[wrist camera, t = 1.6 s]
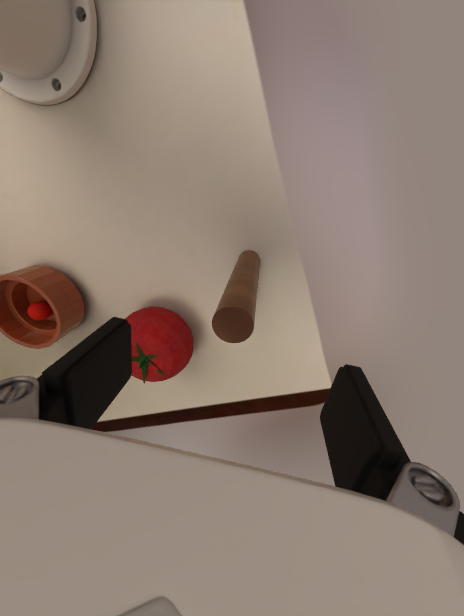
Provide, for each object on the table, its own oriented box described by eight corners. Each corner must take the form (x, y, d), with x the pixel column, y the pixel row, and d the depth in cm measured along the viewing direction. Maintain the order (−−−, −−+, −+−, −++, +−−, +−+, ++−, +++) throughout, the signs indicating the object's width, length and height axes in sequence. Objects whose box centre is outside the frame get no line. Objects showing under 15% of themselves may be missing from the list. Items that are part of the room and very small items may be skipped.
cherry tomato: (41, 294, 32) (25, 302, 30) (58, 306, 33) (44, 314, 30) (35, 307, 33) (19, 315, 31) (52, 318, 34) (37, 327, 31)
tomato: (212, 343, 33) (197, 385, 26) (159, 365, 36) (131, 409, 28) (175, 285, 30) (146, 314, 23) (120, 314, 33) (79, 348, 26)
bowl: (35, 248, 31) (-6, 258, 26) (99, 294, 32) (72, 311, 28) (13, 300, 34) (-25, 316, 30) (72, 339, 36) (44, 361, 31)
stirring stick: (247, 245, 27) (229, 297, 14) (264, 259, 28) (262, 324, 14) (233, 262, 28) (203, 326, 15) (250, 276, 29) (235, 350, 15)
